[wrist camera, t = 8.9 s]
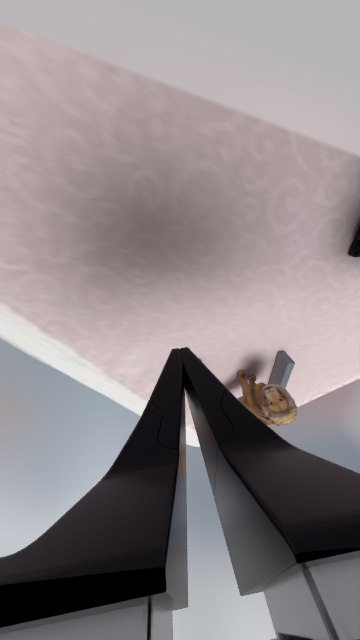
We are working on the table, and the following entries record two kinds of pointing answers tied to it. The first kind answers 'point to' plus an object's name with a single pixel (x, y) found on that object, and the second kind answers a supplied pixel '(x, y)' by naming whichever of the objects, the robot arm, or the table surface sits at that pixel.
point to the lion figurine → (267, 401)
